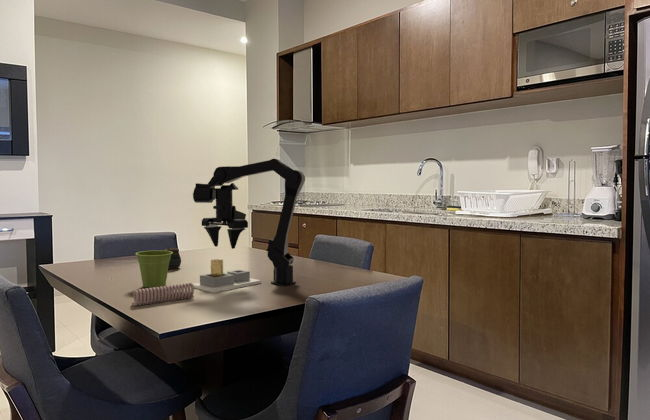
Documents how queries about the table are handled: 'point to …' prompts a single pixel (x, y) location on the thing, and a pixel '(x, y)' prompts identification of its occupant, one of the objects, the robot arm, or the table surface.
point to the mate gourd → (174, 258)
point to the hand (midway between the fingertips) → (224, 247)
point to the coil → (162, 294)
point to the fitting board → (225, 281)
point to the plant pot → (154, 267)
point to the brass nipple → (216, 268)
